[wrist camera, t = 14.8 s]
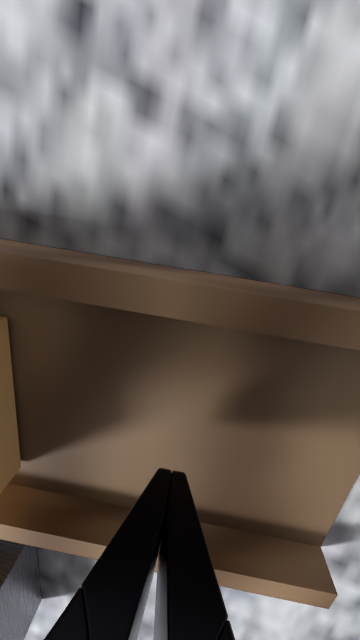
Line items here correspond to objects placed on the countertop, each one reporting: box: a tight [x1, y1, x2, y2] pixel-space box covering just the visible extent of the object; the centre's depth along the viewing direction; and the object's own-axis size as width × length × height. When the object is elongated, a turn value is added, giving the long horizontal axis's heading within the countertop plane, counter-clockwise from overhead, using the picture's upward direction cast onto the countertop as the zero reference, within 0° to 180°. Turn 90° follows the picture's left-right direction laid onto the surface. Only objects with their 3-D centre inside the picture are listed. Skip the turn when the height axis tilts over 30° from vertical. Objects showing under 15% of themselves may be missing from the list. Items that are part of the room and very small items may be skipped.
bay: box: [0, 239, 360, 609], centre depth 9 cm, size 22×12×3 cm, turn 82°
